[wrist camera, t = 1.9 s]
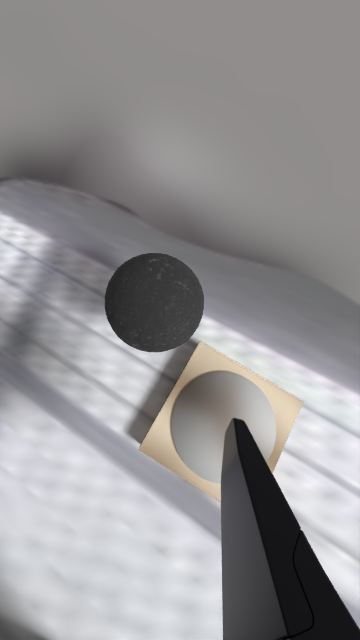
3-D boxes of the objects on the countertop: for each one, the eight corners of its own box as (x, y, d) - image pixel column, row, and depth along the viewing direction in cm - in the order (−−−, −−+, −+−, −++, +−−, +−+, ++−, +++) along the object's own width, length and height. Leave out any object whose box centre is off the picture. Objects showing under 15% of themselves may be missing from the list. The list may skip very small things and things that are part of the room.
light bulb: (123, 301, 22) (87, 237, 12) (187, 293, 22) (201, 225, 13) (130, 366, 21) (95, 353, 11) (197, 356, 21) (221, 335, 11)
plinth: (244, 510, 19) (252, 523, 17) (140, 444, 19) (138, 450, 18) (294, 400, 21) (305, 401, 19) (198, 344, 21) (200, 340, 20)
